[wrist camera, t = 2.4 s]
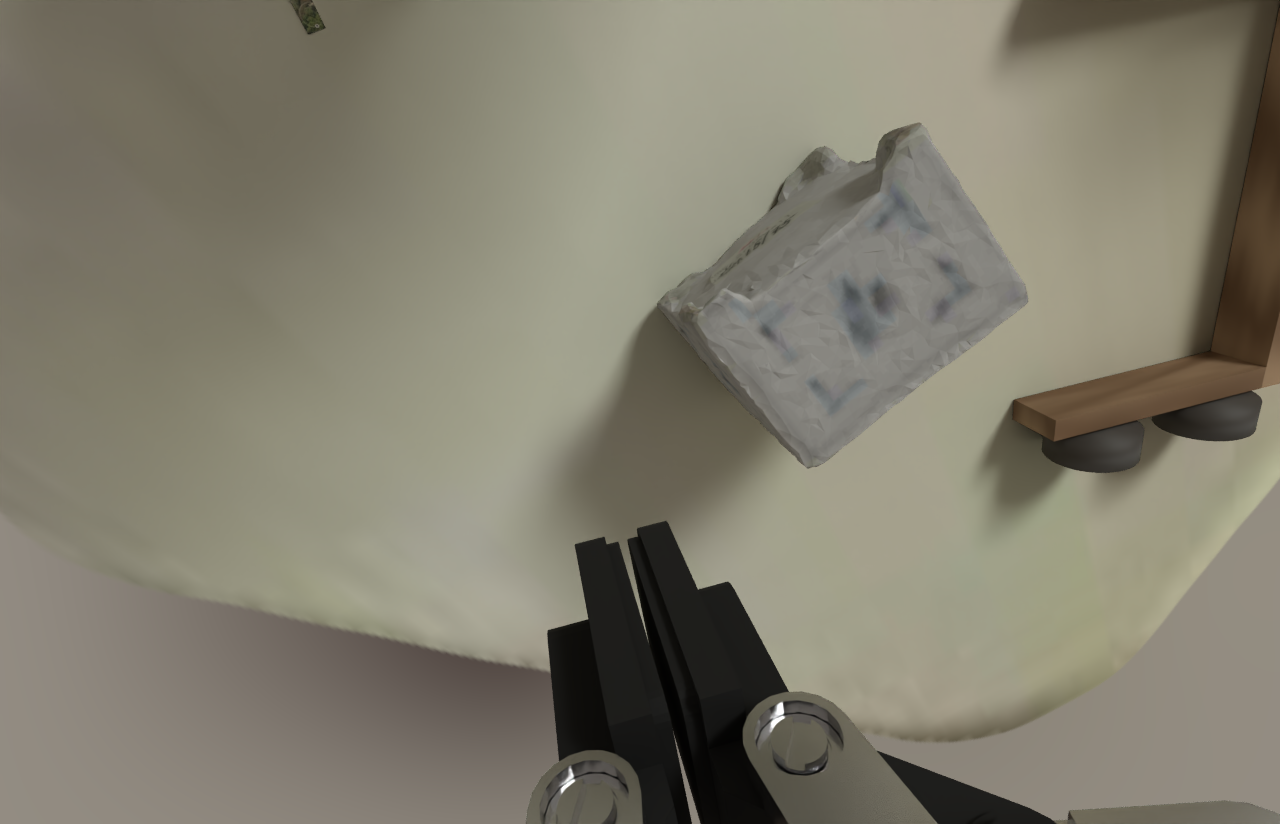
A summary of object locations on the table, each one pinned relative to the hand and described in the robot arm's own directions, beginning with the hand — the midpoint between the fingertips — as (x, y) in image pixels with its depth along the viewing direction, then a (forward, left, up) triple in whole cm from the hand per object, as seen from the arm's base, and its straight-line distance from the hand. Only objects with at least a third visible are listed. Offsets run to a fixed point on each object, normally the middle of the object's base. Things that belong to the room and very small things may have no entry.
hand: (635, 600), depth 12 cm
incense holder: (0, +10, -20) cm, 22 cm away
